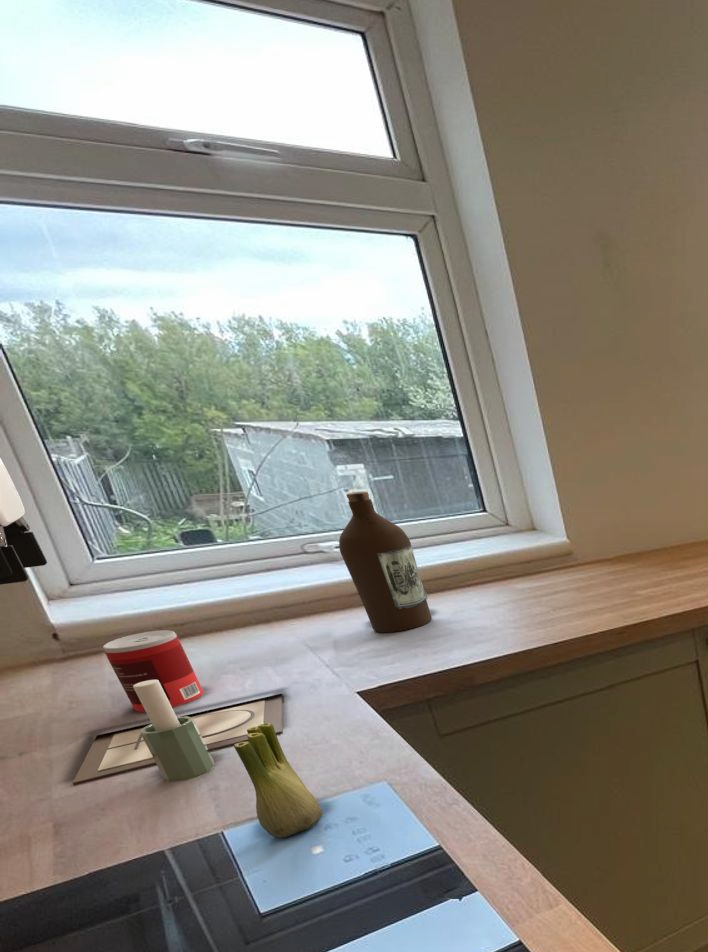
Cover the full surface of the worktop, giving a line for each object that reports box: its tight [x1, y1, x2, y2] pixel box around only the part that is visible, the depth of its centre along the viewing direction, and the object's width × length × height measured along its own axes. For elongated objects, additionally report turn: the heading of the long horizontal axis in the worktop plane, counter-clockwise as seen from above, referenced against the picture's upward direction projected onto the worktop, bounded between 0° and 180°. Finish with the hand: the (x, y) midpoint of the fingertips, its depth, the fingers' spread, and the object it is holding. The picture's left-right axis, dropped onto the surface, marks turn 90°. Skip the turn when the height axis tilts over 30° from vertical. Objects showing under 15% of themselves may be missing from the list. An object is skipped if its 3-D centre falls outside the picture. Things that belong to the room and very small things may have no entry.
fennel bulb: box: [233, 723, 323, 838], centre depth 85 cm, size 6×5×12 cm
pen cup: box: [140, 715, 216, 782], centre depth 99 cm, size 5×5×7 cm
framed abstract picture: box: [72, 693, 285, 786], centre depth 111 cm, size 20×18×1 cm
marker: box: [133, 680, 180, 731], centre depth 98 cm, size 2×2×12 cm
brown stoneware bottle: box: [338, 490, 433, 633], centre depth 150 cm, size 11×11×25 cm
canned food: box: [102, 629, 205, 713], centre depth 119 cm, size 8×8×11 cm
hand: (18, 574), depth 94 cm, fingers open, 9 cm apart
